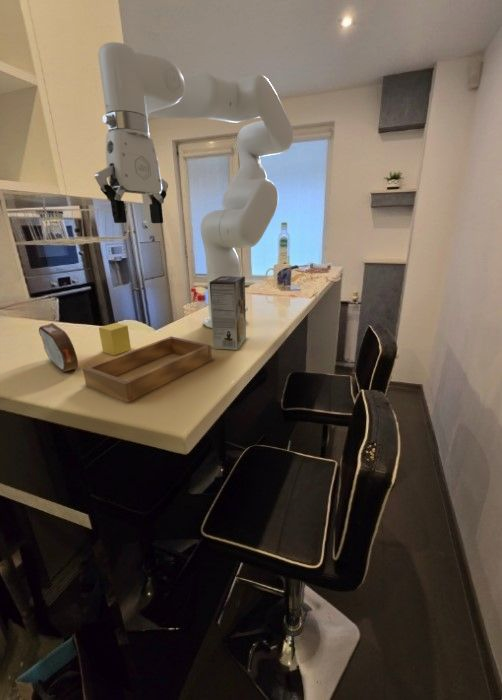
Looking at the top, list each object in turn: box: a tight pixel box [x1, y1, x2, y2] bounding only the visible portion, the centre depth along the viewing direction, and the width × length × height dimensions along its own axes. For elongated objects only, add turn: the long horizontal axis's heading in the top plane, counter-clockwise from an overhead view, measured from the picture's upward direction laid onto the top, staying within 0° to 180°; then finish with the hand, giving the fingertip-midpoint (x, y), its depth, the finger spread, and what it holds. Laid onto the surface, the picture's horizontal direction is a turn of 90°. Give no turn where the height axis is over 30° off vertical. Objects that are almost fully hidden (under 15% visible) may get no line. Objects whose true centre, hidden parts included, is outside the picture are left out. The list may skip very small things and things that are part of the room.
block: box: [98, 322, 132, 356], centre depth 77 cm, size 4×4×6 cm
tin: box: [38, 322, 79, 373], centre depth 68 cm, size 15×3×8 cm, turn 44°
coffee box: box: [210, 276, 247, 351], centre depth 79 cm, size 9×6×16 cm
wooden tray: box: [82, 335, 213, 404], centre depth 65 cm, size 22×12×4 cm, turn 147°
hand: (139, 223), depth 70 cm, fingers open, 9 cm apart
